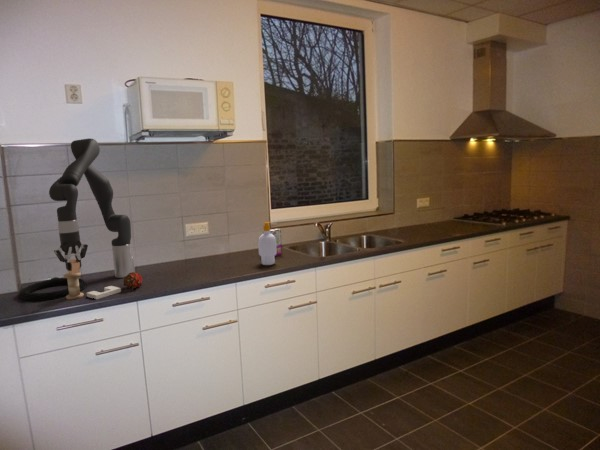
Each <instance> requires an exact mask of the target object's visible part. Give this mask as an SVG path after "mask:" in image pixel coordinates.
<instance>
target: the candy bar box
mask: <svg viewBox="0 0 600 450" xmlns="http://www.w3.org/2000/svg"><path fill="white" fill-rule="evenodd" d="M262 234H264V230H262ZM270 234H273V235H274V236H275V238H276V249H277V254H276V255H274V256H275V257H277V256H281V255H283V245H282V229H281V228H273V229H270Z"/></svg>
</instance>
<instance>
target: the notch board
mask: <svg viewBox="0 0 600 450" xmlns="http://www.w3.org/2000/svg"><path fill="white" fill-rule="evenodd" d="M103 290H104V291H102V292H99V291H96V290H91V291H88V292H86V297H87V298H91V299H93V298H94V300H99V299H102V298H106V297H109V296H111V295H112V296H113V295H115V294H118V293H121V292H122V288H121V287H118V286H114V285H108V286H105V287H103Z"/></svg>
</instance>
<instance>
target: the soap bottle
mask: <svg viewBox="0 0 600 450" xmlns="http://www.w3.org/2000/svg"><path fill="white" fill-rule="evenodd" d="M271 222H272V221H267V222H265V221H264V223H263V224H264V225H262V226H263V231H264V234H263V233H262V234H261V235H260V236H259V237H258V241H257V244H258V255H259V256H260V257H261V259H260V260H261V264H262V265H263V266H271V265H275V263H276V261H275V260H276V259H275V257H276V256H274V255H276V254H277V249H276V238H275V236H274V235H273V234H270V230H271V228H270V227H271V226H270V224H271Z"/></svg>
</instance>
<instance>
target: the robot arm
mask: <svg viewBox="0 0 600 450" xmlns="http://www.w3.org/2000/svg"><path fill="white" fill-rule="evenodd" d="M70 150H71V153H72V155H73V157H74V159H75V160H73V161H72V162H71V163H70V164H69V165H68V166H67V167H66V168H65V170H64V172H63V174H62V175H61V176H60V177H59V178H58V179H57V180H56V181H54V182H53V183H52V184H51V186H50V188H49V191H48V195H49V198H50V199H51V200H53V201H54V202H66V204H65V205H63V206H59V207H58V208H57V209H56V214H57V215H56V216H57V224H58V225H57V226H58V227H57V228H58V235H59V243H60V245H59V248H57V249H54V250H53V253H54V254H55V255H56V257H57V258H58V260H59V261H60V262H62V263H65V264H64V265H65V269H66V271H67V270H68V271H71V264H70V263H71V262H70V260H71V257H72V255H74V259H76V260H77V261H79V262H80V269H81V267H82V259H84V258H85V257H86V254H87V252H88V251H87V250H88V247H89V245H88V244H86V243H82V242H81V235H80V227H79V224H78V223H79V222H78V220H77V219H78V218H77V203H78V199H79V190H78V188H77V187H78V186H79V183H80V182H81V180H82V178H83V176H85V179H86V181H87V184H88V186H89V188H90V190H91V193H92V194H93V196H94V198H95V201H96V202H97V205H98V207H99V210H100V213H101V215H102V219H103V222H104V224H105V227H106V229H107V230H108V231H110V232H112V233H117V237H115V238H113V239H111V251H112V258H113V259H112V260H113V269H114V277H115V278H120V279H121V278H122V279H124V277H125V276H127V275H128V274H129V273H132V272H136V270H135V269H136V268H135V259H134V257H133V255H132V245H131V239H132V226H131V219H130V217H129V216H128V215H127V214H116V213H115V211H114V209H113V203H112V202H113V200H114V189H113V188H112V185H111V181H110V180H109V179H108V177H106V176H105V175H104V174H103V173H102V172H100V171H99V170H98V169H97V168H96V167H95V166H93V163H94V161H95V160H96V159H97V158H98V156H99V155H100V145H99V142H98V141H97V140H96V139H95V138H83V139H75V140H72V141H71V143H70ZM62 253H63V254H62ZM68 271H67V272H68Z"/></svg>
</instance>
